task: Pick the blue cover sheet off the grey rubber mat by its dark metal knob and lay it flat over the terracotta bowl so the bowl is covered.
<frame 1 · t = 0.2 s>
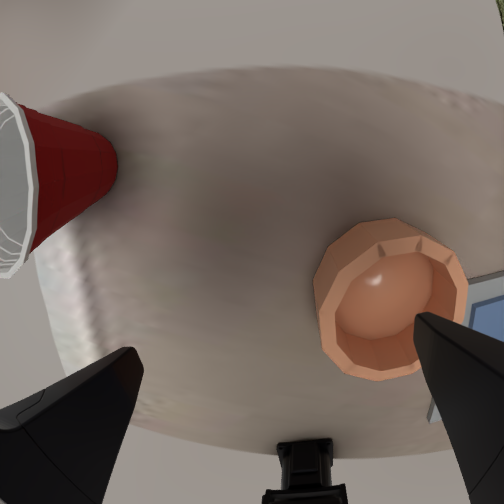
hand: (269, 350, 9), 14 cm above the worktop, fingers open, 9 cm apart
plastic cup: (90, 166, 22), on the worktop
bowl: (380, 286, 23), on the worktop
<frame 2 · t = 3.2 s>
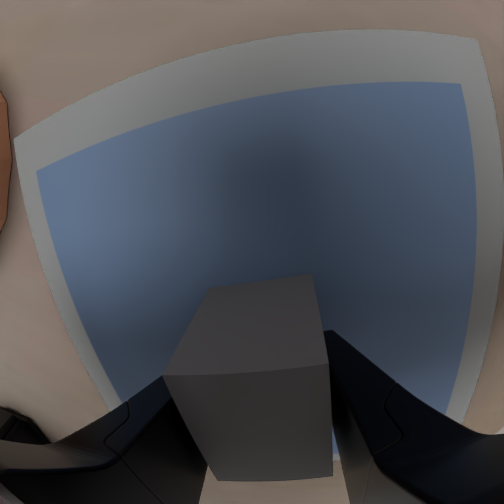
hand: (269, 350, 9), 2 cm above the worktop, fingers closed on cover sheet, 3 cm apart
cover sheet: (272, 325, 10), point 1 cm above the worktop, touching gripper, mat
mat: (273, 311, 11), on the worktop
when the fingers open (8 cm above the worktop, at t = 6.8 s): cover sheet drops 2 cm, resting on bowl.
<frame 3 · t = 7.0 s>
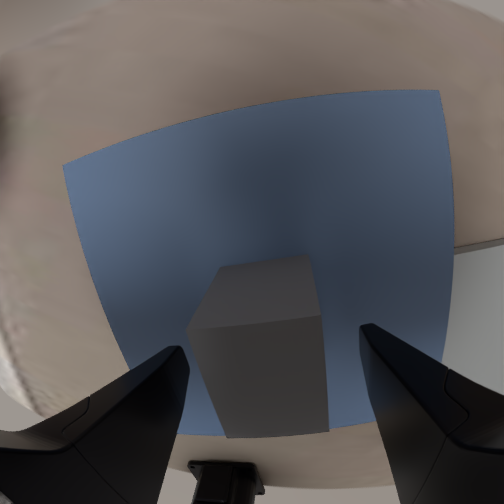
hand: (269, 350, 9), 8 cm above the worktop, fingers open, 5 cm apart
cover sheet: (274, 302, 11), point 5 cm above the worktop, touching bowl
mat: (496, 348, 17), on the worktop
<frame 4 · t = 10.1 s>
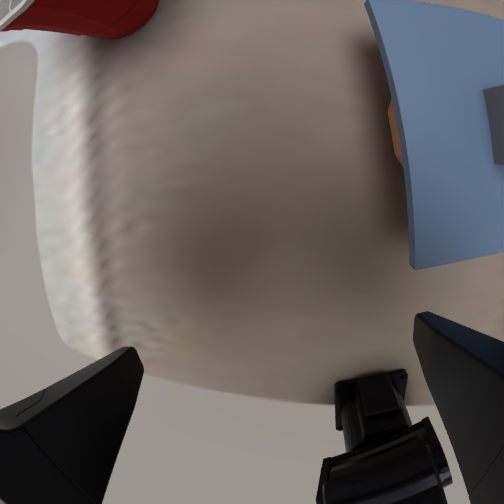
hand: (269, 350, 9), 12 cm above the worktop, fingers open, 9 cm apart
cover sheet: (499, 127, 11), point 5 cm above the worktop, touching bowl
plastic cup: (124, 10, 16), on the worktop
bowl: (458, 130, 16), on the worktop
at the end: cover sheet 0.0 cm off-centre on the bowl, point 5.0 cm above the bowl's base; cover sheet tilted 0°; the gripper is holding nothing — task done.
